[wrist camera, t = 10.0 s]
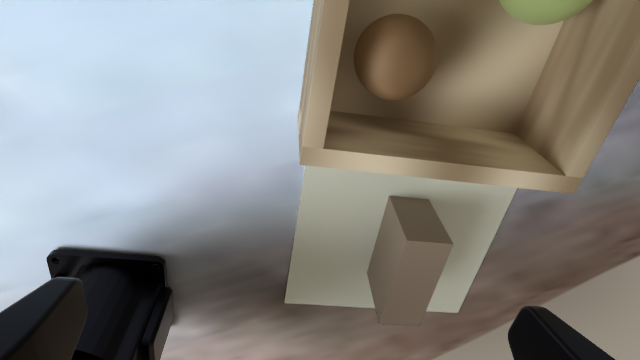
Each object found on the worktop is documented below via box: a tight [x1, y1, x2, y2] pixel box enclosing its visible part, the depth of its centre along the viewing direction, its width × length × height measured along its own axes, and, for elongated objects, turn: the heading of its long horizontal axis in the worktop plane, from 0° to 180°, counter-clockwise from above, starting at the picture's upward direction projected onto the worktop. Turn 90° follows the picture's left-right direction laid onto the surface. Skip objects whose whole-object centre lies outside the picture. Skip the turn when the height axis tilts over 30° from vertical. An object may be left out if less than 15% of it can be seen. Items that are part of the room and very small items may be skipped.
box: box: [298, 0, 640, 194], centre depth 15 cm, size 12×12×5 cm
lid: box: [284, 165, 517, 326], centre depth 23 cm, size 12×12×5 cm
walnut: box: [354, 14, 438, 100], centre depth 16 cm, size 3×3×3 cm
